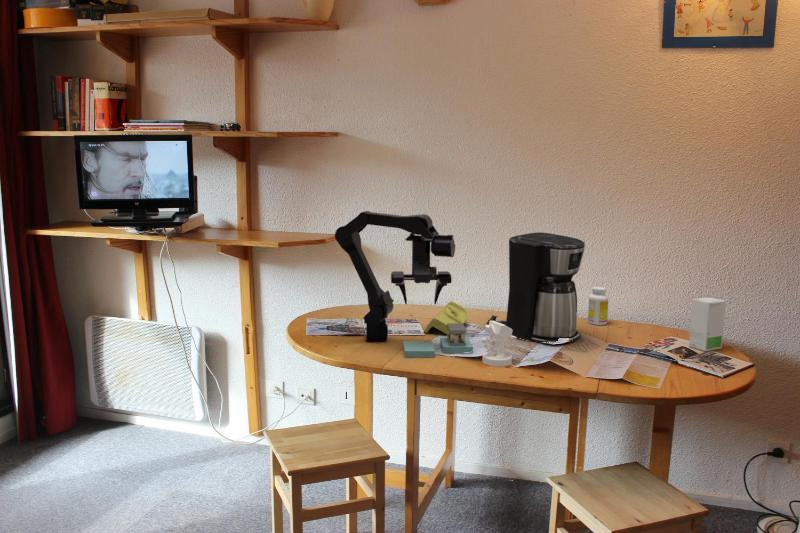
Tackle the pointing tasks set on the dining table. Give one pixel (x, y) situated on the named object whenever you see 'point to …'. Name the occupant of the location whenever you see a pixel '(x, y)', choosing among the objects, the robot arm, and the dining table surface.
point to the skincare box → (707, 323)
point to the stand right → (455, 349)
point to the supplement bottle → (598, 306)
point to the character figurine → (497, 345)
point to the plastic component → (448, 317)
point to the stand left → (418, 349)
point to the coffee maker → (543, 287)
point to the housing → (456, 339)
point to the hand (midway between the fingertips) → (420, 304)
